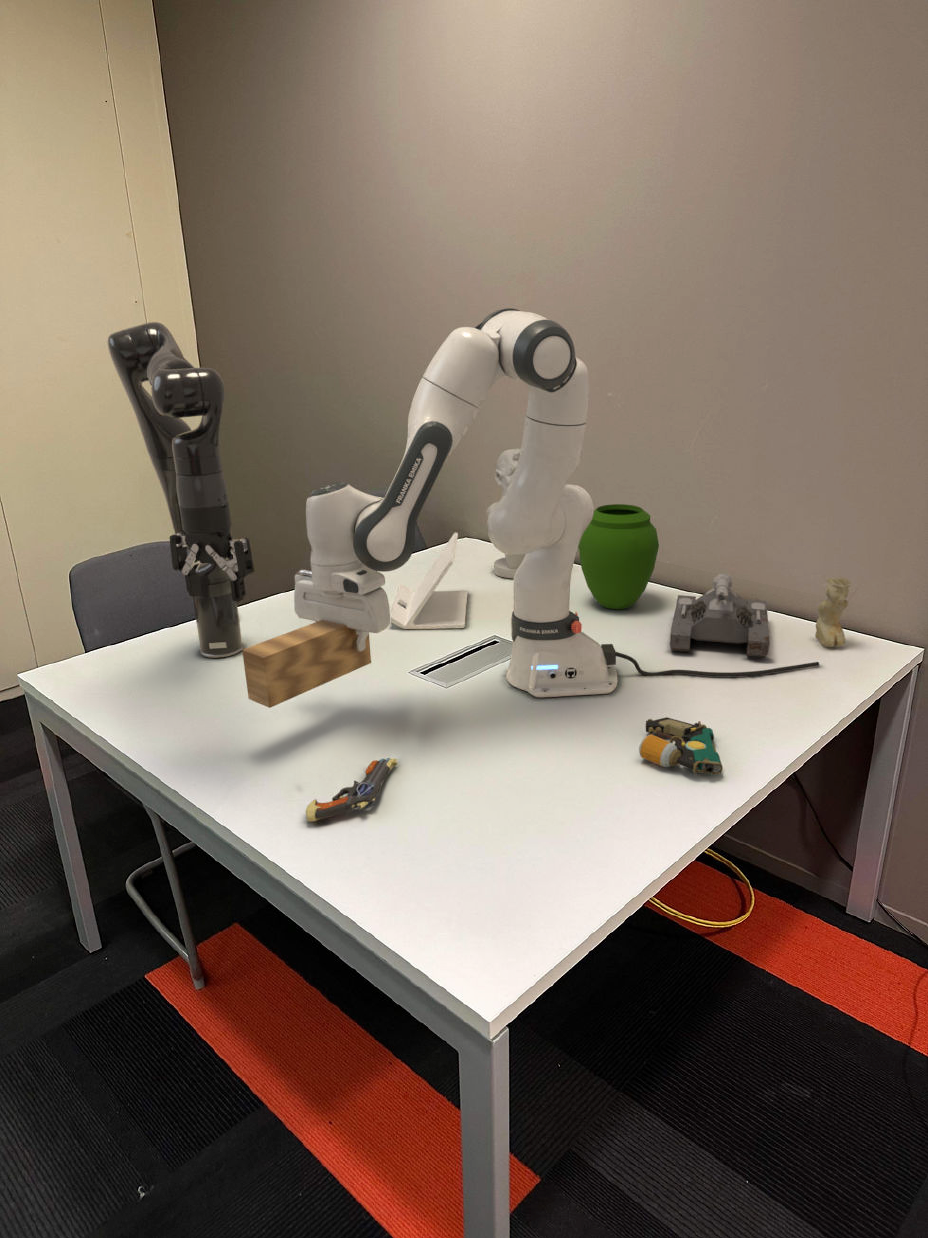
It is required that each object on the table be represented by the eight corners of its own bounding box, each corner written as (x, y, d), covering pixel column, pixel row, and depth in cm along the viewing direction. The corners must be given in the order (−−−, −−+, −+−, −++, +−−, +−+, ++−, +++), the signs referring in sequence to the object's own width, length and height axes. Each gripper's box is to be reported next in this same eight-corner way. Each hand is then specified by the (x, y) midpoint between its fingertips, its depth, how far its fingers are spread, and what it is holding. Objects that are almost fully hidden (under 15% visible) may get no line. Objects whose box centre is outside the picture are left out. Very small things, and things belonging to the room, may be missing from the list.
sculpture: (821, 649, 184) (830, 583, 179) (808, 637, 191) (816, 573, 185) (848, 649, 184) (858, 582, 179) (834, 636, 191) (843, 572, 185)
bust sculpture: (503, 593, 225) (502, 460, 212) (483, 567, 247) (480, 445, 234) (562, 587, 228) (563, 456, 215) (536, 562, 250) (536, 441, 237)
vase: (599, 587, 227) (601, 497, 218) (668, 600, 216) (673, 505, 208) (562, 608, 212) (564, 513, 204) (634, 623, 202) (639, 523, 193)
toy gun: (300, 810, 127) (364, 809, 125) (341, 755, 145) (397, 752, 143) (303, 827, 128) (367, 825, 126) (343, 769, 146) (399, 767, 143)
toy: (676, 614, 206) (680, 554, 201) (764, 620, 201) (770, 559, 195) (669, 654, 184) (673, 588, 178) (767, 663, 178) (774, 595, 173)
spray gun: (649, 726, 155) (734, 744, 149) (625, 765, 141) (718, 786, 135) (651, 705, 154) (737, 722, 148) (628, 741, 139) (722, 762, 133)
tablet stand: (467, 593, 225) (465, 531, 219) (465, 628, 202) (462, 559, 196) (399, 594, 226) (395, 532, 220) (388, 629, 203) (384, 560, 197)
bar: (350, 655, 163) (346, 610, 160) (371, 663, 160) (367, 616, 156) (248, 699, 147) (241, 649, 143) (269, 708, 143) (263, 657, 140)
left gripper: (150, 503, 133) (166, 601, 139) (226, 508, 128) (239, 610, 134) (182, 492, 140) (196, 586, 145) (255, 497, 135) (266, 595, 140)
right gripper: (282, 572, 156) (291, 643, 160) (369, 587, 145) (376, 662, 150) (306, 563, 160) (313, 632, 165) (392, 577, 150) (398, 650, 154)
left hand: (217, 597), depth 140 cm, fingers open, 8 cm apart
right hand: (344, 646), depth 157 cm, fingers closed on bar, 6 cm apart
